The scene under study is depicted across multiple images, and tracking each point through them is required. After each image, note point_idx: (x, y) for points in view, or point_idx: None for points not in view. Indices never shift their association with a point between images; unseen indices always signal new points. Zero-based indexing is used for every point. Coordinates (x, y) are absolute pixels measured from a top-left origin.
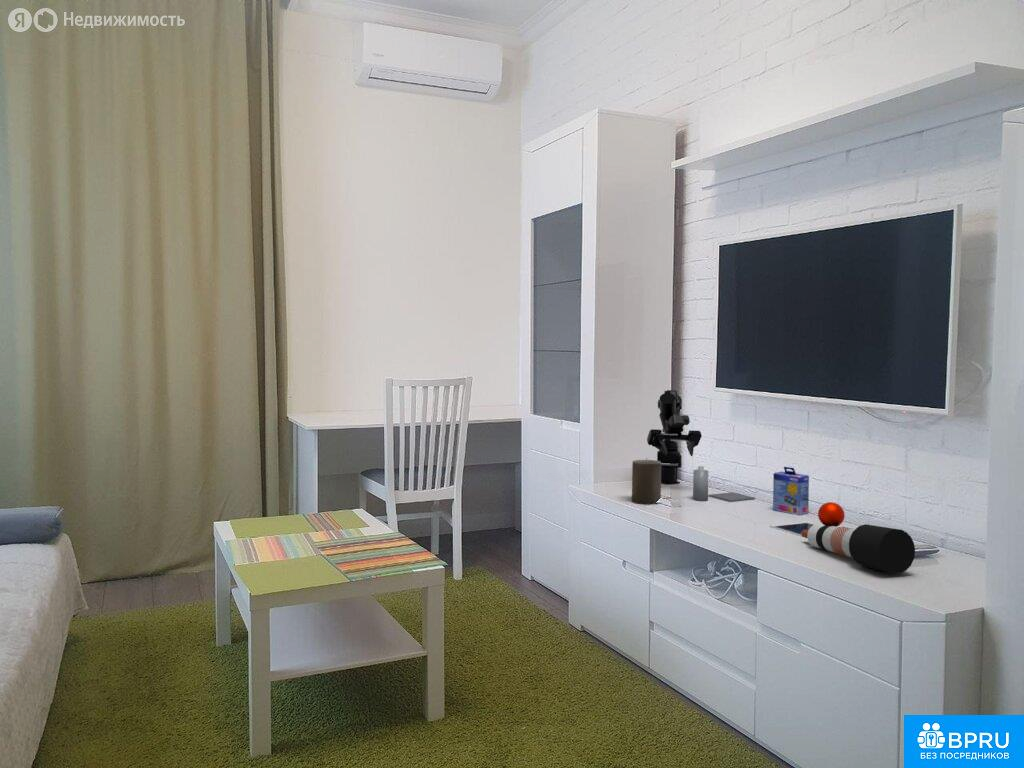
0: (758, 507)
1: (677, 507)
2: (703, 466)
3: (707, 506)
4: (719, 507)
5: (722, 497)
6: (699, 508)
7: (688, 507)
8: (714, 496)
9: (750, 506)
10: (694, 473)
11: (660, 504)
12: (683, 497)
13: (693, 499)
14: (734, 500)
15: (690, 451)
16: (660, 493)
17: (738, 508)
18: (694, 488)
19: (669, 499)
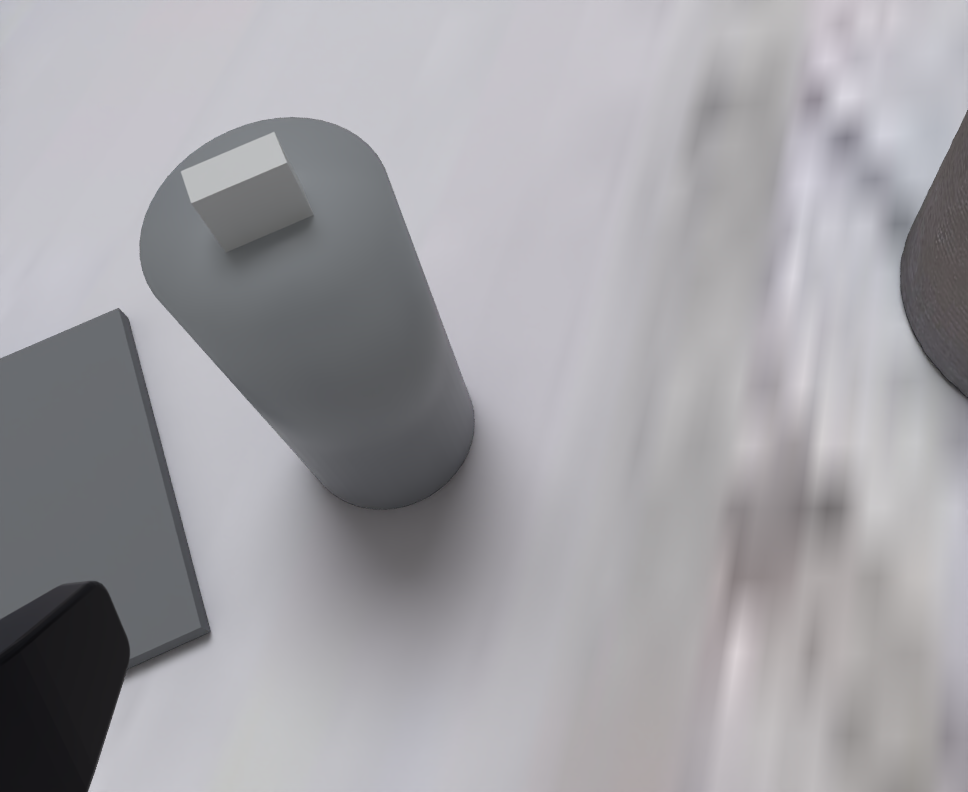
0: (14, 119)
1: (742, 61)
2: (191, 167)
3: (437, 121)
4: (343, 93)
5: (121, 447)
6: (540, 43)
7: (633, 70)
8: (175, 526)
9: (55, 149)
10: (399, 209)
11: (909, 170)
12: (554, 567)
13: (473, 412)
14: (67, 335)
15: (27, 734)
16: (939, 169)
17: (199, 72)
18: (444, 329)
19: (767, 435)
